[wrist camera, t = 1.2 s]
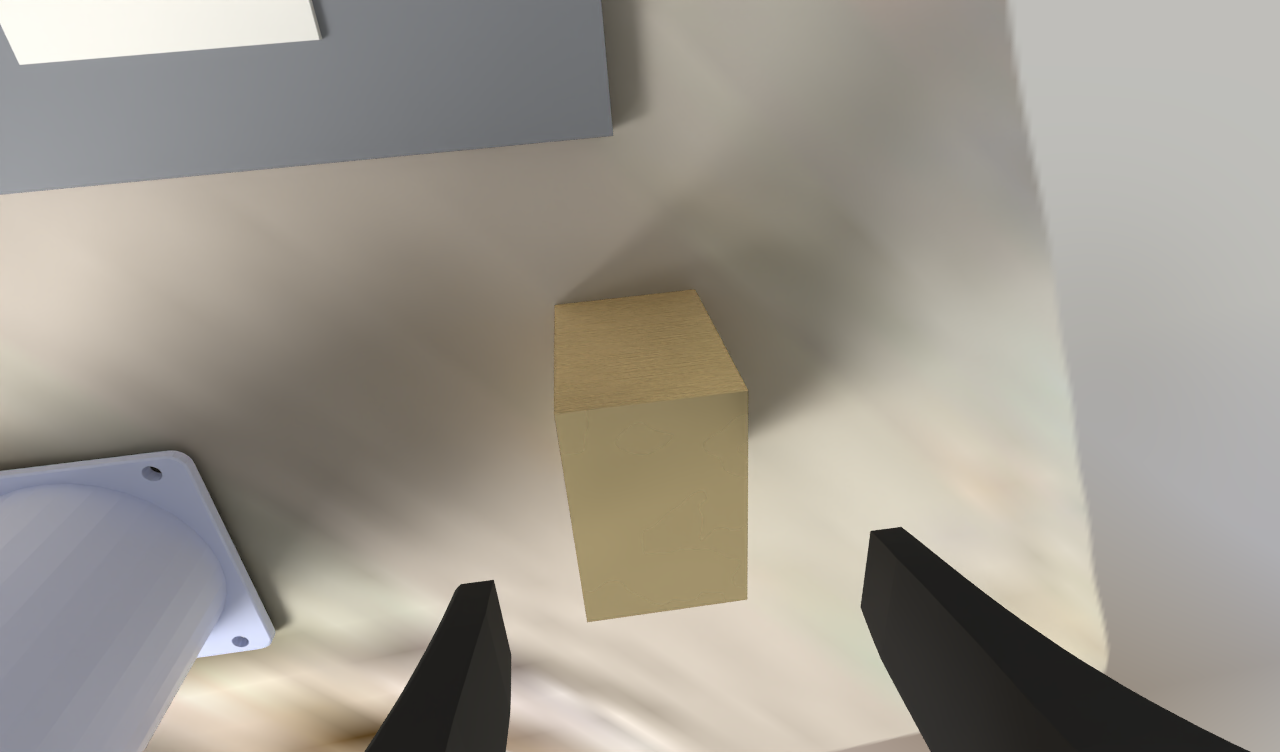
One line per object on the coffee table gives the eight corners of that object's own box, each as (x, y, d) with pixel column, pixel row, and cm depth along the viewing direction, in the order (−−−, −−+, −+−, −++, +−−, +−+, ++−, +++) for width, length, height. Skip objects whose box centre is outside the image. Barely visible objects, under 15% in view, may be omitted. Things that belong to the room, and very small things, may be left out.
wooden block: (579, 476, 21) (587, 621, 16) (554, 304, 19) (553, 414, 13) (700, 460, 22) (747, 599, 16) (694, 288, 19) (748, 390, 14)
